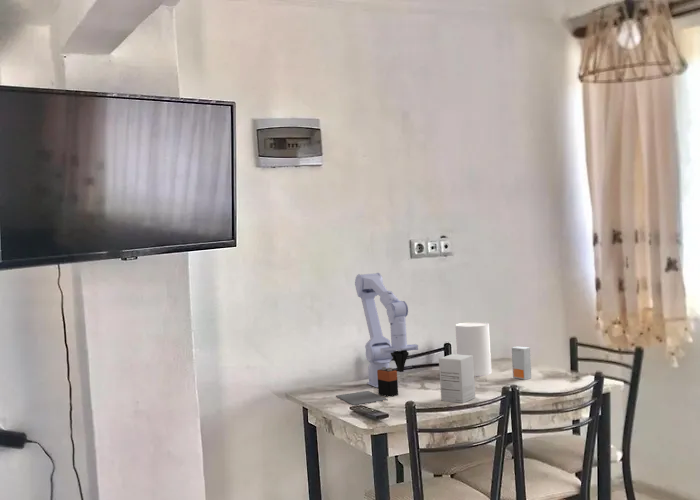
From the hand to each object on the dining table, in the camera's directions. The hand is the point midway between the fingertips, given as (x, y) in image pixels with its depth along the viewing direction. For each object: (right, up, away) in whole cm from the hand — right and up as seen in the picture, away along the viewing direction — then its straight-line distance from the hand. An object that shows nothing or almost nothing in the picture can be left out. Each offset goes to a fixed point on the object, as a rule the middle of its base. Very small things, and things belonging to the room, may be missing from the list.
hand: (400, 371), depth 267 cm
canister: (+32, -6, +29) cm, 44 cm away
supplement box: (+19, -7, -15) cm, 25 cm away
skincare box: (+48, -5, +14) cm, 50 cm away
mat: (-14, -9, -5) cm, 18 cm away
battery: (-5, -9, -2) cm, 10 cm away
